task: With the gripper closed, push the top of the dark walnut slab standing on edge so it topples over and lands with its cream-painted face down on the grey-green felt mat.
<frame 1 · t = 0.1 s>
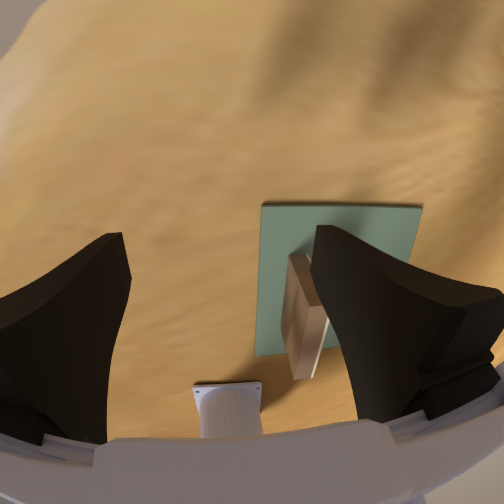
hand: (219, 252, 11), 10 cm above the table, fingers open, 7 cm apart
tile: (293, 294, 25), resting on mat
mat: (334, 288, 26), on the table
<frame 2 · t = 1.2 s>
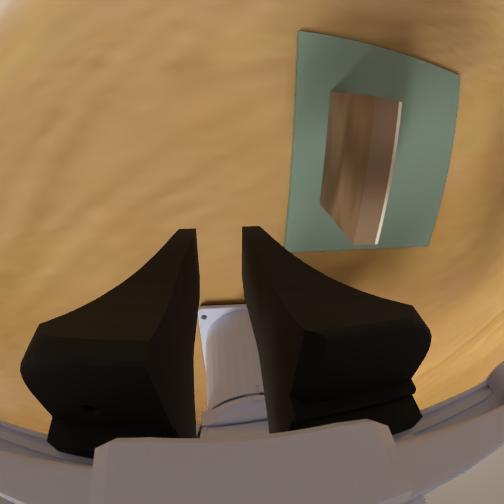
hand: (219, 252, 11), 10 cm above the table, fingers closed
tile: (336, 149, 19), resting on mat
mat: (382, 153, 19), on the table
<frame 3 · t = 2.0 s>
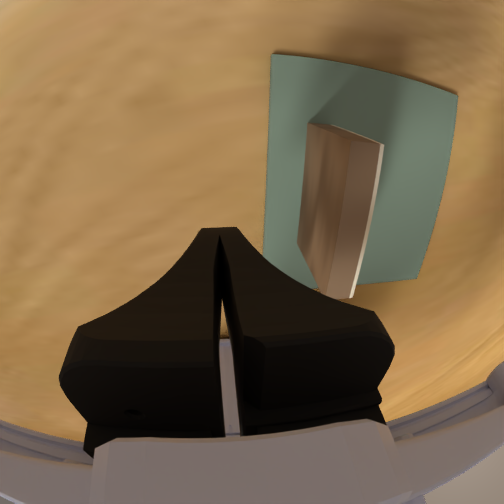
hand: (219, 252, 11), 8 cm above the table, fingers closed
tile: (314, 186, 18), resting on mat
mat: (367, 186, 19), on the table
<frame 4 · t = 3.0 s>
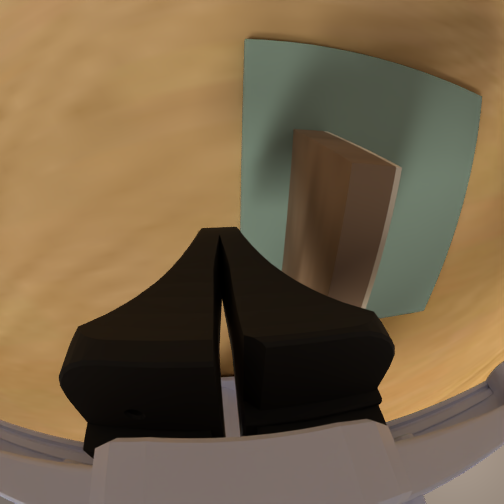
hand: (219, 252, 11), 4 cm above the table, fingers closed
tile: (303, 211, 14), resting on mat
mat: (370, 209, 15), on the table
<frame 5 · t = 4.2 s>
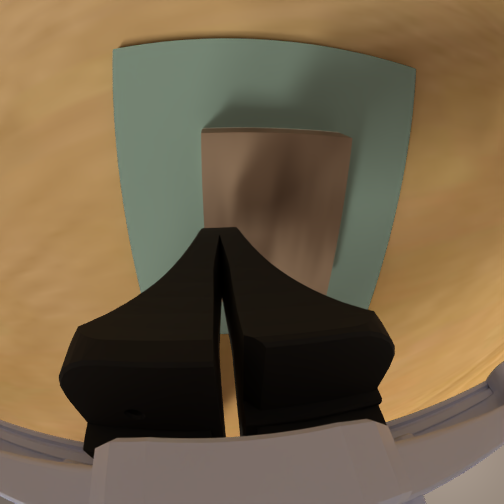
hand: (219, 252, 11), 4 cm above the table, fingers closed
tile: (204, 221, 13), point 1 cm above the table, tilted 90°, touching mat
mat: (270, 208, 14), on the table
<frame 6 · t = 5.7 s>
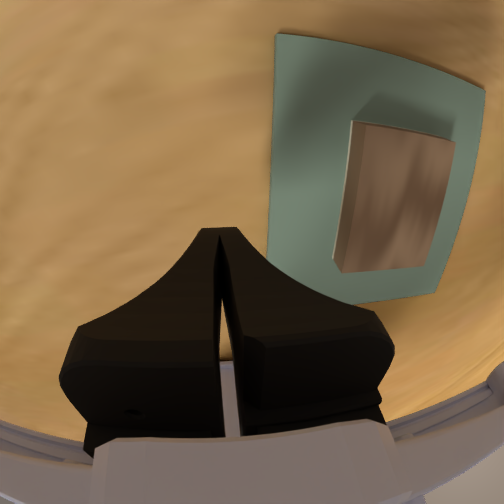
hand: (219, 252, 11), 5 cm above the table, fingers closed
tile: (348, 199, 14), point 1 cm above the table, tilted 90°, touching mat
mat: (387, 193, 16), on the table
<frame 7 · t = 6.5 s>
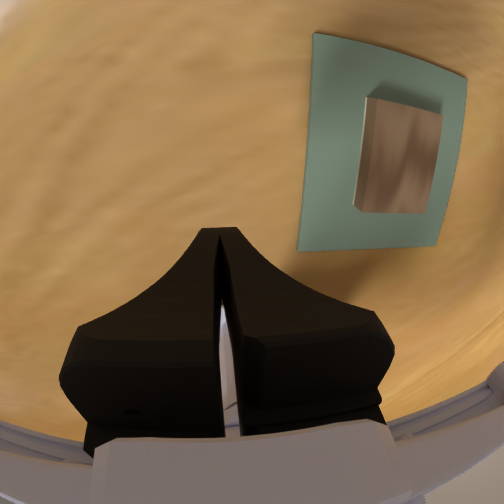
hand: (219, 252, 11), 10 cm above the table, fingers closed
tile: (365, 154, 18), point 1 cm above the table, tilted 90°, touching mat
mat: (392, 154, 20), on the table
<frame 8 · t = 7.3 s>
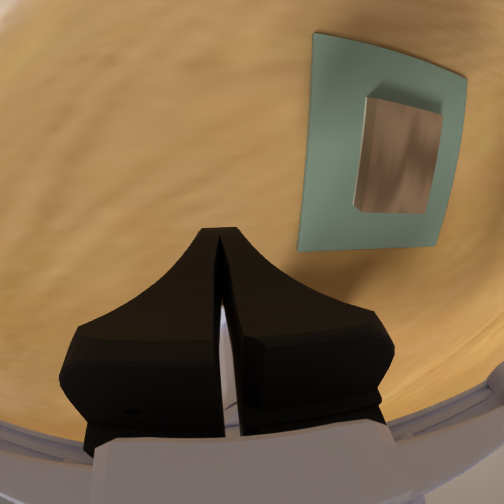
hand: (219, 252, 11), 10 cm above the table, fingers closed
tile: (365, 154, 18), point 1 cm above the table, tilted 90°, touching mat
mat: (392, 154, 20), on the table
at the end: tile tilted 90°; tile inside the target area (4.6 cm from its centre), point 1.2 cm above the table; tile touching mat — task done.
